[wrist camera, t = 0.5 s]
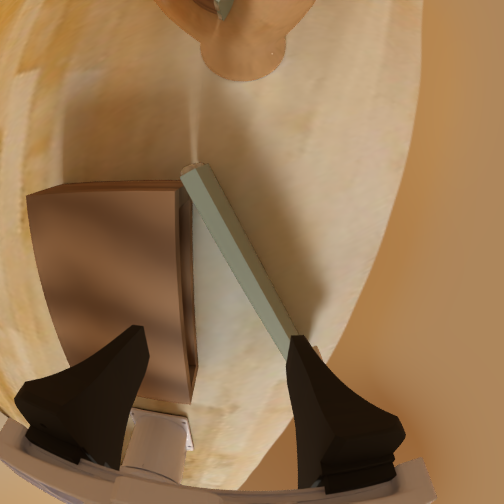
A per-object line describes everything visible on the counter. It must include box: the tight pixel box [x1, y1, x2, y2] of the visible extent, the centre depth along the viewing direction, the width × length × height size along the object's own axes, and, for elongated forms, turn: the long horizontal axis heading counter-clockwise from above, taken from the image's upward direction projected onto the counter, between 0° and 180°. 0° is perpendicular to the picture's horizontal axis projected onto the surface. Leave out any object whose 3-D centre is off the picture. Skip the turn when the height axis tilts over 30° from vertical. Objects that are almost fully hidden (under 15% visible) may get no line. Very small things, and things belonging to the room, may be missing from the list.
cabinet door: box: [180, 162, 323, 362], centre depth 19 cm, size 19×2×5 cm, turn 26°
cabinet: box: [26, 180, 198, 405], centre depth 20 cm, size 18×12×5 cm, turn 176°
